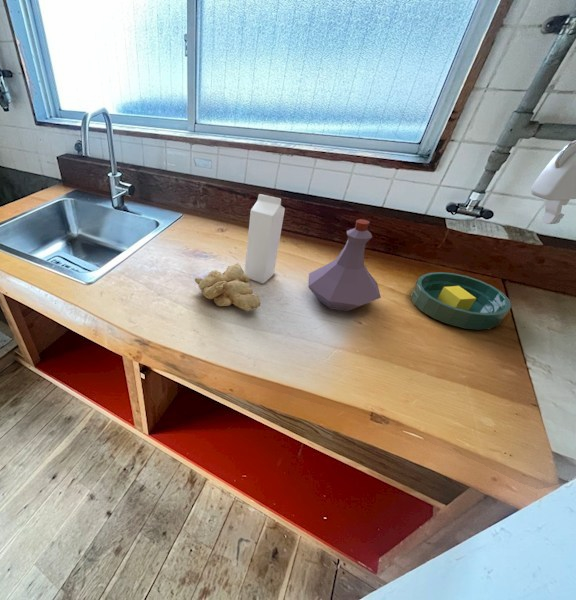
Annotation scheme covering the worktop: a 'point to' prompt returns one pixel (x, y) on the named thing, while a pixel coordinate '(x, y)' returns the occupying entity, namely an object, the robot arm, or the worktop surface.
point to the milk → (263, 238)
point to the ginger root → (229, 288)
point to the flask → (346, 274)
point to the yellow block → (456, 297)
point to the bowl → (480, 316)
